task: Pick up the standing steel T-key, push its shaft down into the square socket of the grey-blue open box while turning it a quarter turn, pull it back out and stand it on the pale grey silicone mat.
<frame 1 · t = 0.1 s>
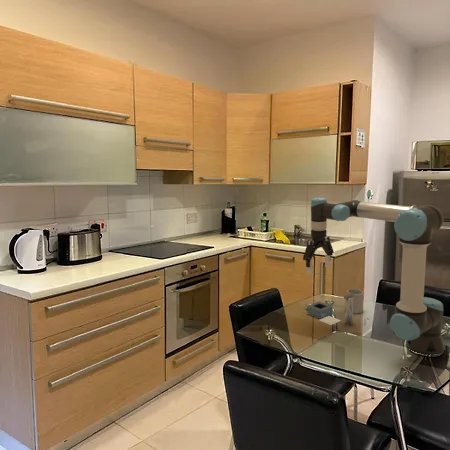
hand: (318, 270, 205), 28 cm above the table, fingers open, 13 cm apart
grey-blue open box: (319, 313, 220), on the table
mat: (329, 320, 211), on the table
mug: (352, 309, 224), on the table
key: (348, 323, 208), on the table
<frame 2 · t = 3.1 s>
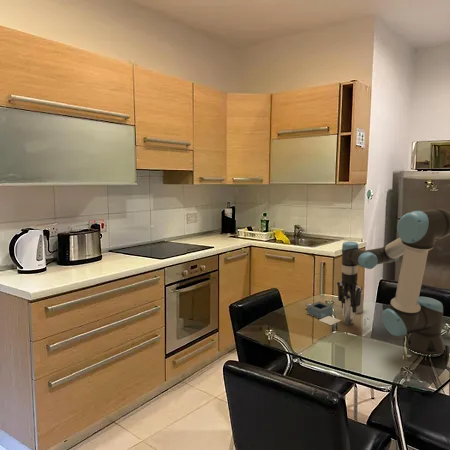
hand: (348, 316, 207), 4 cm above the table, fingers closed on key, 4 cm apart
key: (348, 323, 208), on the table, touching gripper
everything else where it was.
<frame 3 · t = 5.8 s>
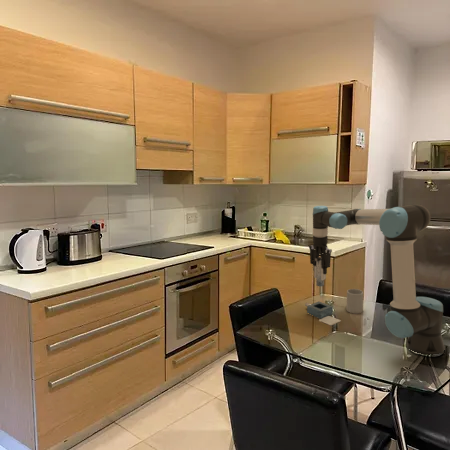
hand: (320, 278, 216), 20 cm above the table, fingers closed on key, 4 cm apart
key: (320, 285, 217), point 16 cm above the table, touching gripper
everything else where it was.
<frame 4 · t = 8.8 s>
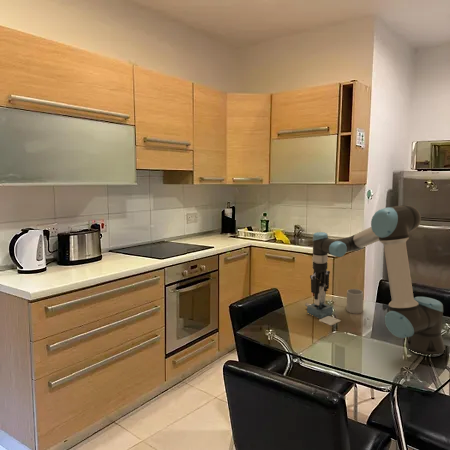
hand: (320, 303, 219), 6 cm above the table, fingers closed on key, 4 cm apart
key: (319, 309, 220), point 2 cm above the table, touching gripper
everything else where it was.
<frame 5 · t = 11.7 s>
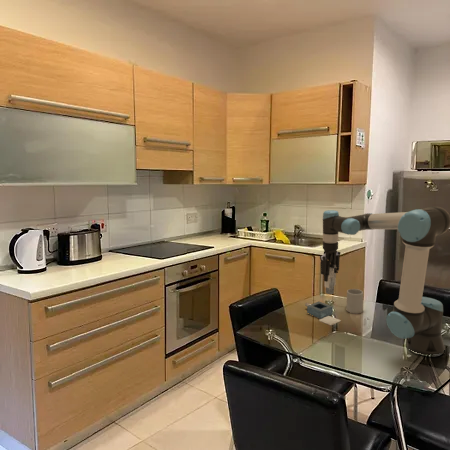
hand: (329, 285, 207), 19 cm above the table, fingers closed on key, 4 cm apart
key: (329, 292, 208), point 15 cm above the table, touching gripper
everything else where it was.
when the fingers open (5 cm above the table, at t = 14.3 s): key stays where it is, resting on mat.
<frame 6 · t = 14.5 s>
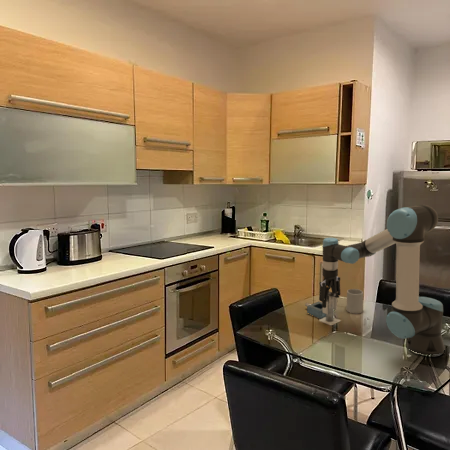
hand: (329, 311, 210), 5 cm above the table, fingers open, 7 cm apart
key: (329, 320, 211), resting on mat
everything else where it was.
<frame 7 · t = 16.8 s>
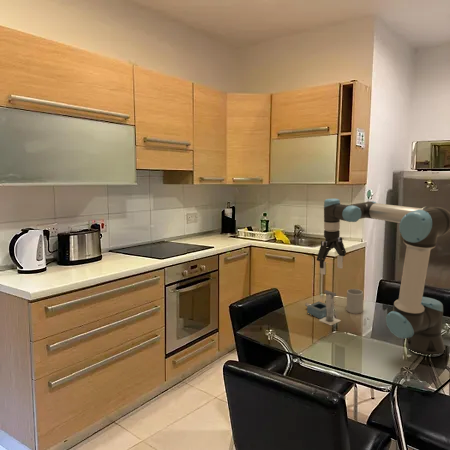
hand: (331, 271, 206), 27 cm above the table, fingers open, 13 cm apart
nothing on the table moved.
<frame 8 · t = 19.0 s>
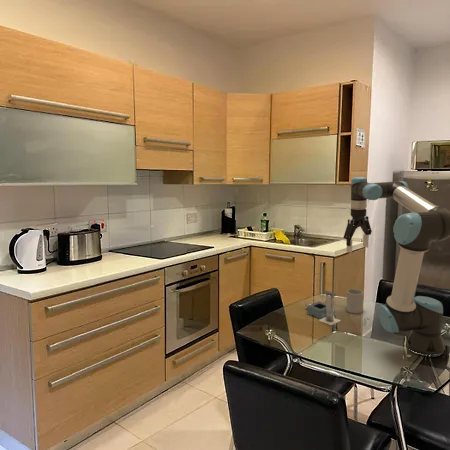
hand: (357, 249, 207), 37 cm above the table, fingers open, 13 cm apart
nothing on the table moved.
at the end: key inside the target area on the mat (0.0 cm from its centre), point 0.4 cm above the mat's base; key tilted 1°; the gripper is holding nothing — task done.
